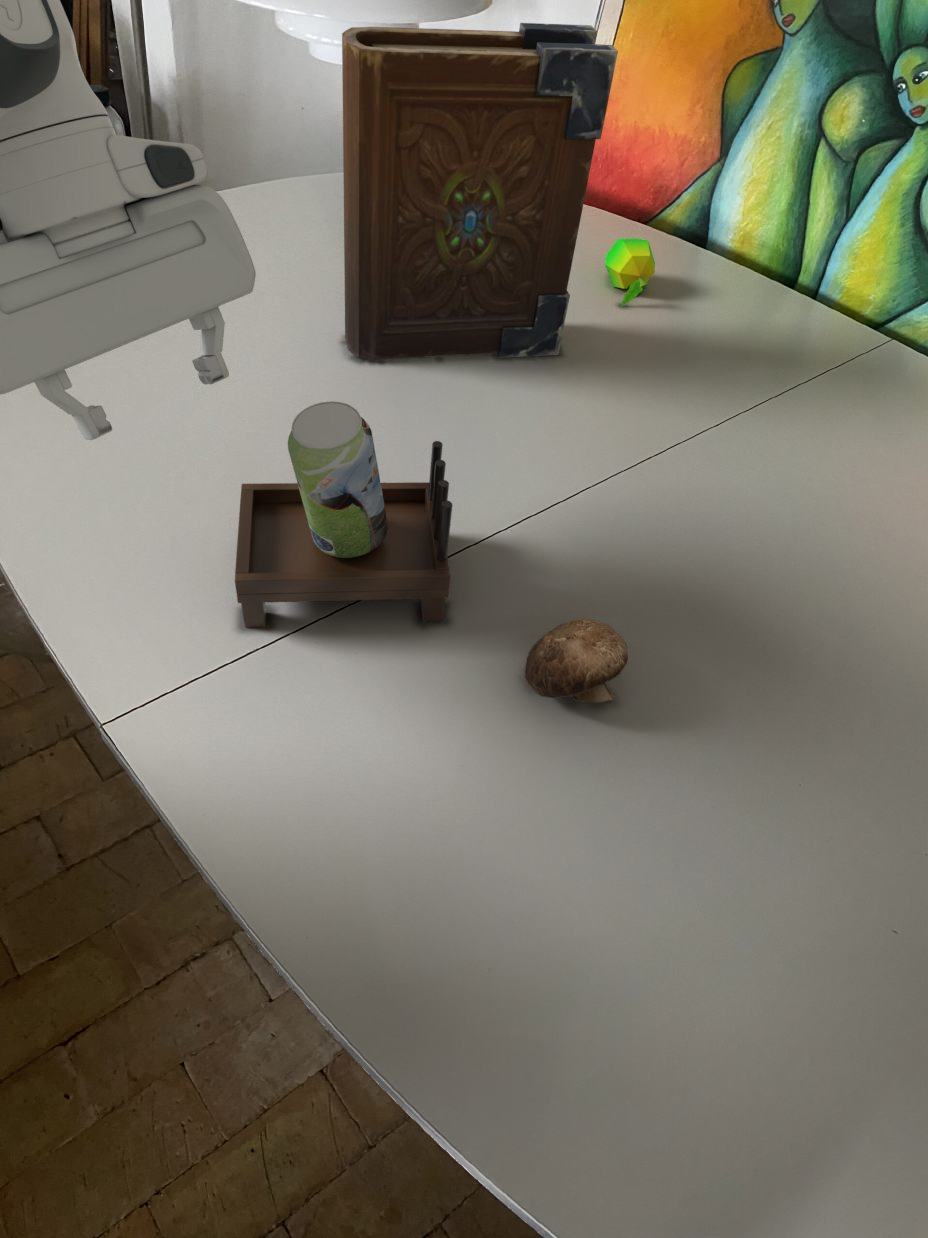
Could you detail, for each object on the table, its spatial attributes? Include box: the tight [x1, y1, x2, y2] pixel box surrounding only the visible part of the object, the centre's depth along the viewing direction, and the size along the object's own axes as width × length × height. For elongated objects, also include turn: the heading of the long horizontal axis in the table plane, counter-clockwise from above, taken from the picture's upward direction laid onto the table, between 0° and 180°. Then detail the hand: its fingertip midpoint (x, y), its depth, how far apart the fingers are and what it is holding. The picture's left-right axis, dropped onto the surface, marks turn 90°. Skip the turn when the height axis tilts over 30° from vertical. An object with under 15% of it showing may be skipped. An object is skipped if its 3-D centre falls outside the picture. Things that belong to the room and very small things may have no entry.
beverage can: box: [287, 400, 388, 558], centre depth 65 cm, size 6×7×12 cm
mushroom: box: [524, 618, 629, 704], centre depth 65 cm, size 8×8×6 cm
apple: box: [604, 238, 656, 307], centre depth 108 cm, size 7×6×9 cm
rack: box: [234, 440, 453, 628], centre depth 69 cm, size 16×11×11 cm
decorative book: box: [341, 22, 619, 360], centre depth 87 cm, size 23×7×30 cm, turn 104°
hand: (160, 406), depth 60 cm, fingers open, 8 cm apart
